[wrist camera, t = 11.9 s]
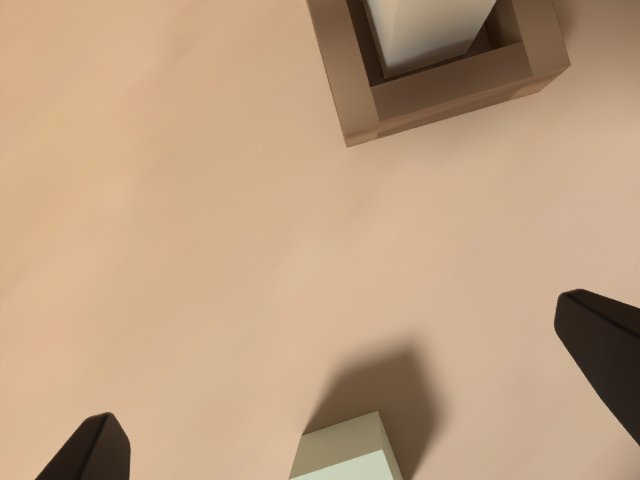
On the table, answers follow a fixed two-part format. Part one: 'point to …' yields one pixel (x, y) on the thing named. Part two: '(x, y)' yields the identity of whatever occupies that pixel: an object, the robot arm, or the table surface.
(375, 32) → the grey-topped block
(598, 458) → the table surface
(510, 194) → the table surface
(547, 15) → the brown wooden tray
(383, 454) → the sage green cube
